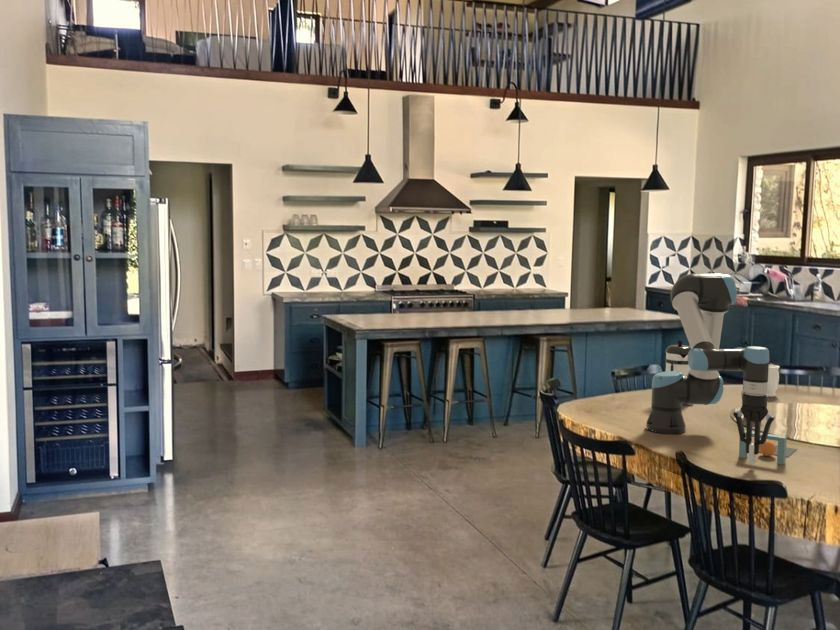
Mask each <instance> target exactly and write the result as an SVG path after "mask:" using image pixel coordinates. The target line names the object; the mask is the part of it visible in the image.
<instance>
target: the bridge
mask: <svg viewBox="0 0 840 630" xmlns="http://www.w3.org/2000/svg"><path fill="white" fill-rule="evenodd" d="M744 431H745V436H746V430H745V429H744ZM754 433H755V431H752V438H754ZM762 434H763V432H760V439H761V437H762ZM787 439H788V437H787V436H786V435H785V436H784V435H780V434H779V435H778V434H771V433H768V436H767V439H766V440H768V441H777V446H778V454H777V455H776V456H777V458H776V459H777V460H776V464H777V465H782V466H784V465H785V464H786V462H787V461H786V459H787V457H786V447H787V441H788V440H787ZM738 443H739V448H738V458H740V459H746V458H747V457H748V453H746V443H745V442H743V441H741V440H740V439H739V442H738Z"/></svg>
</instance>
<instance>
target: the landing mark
mask: <svg viewBox="0 0 840 630" xmlns="http://www.w3.org/2000/svg"><path fill="white" fill-rule="evenodd" d="M775 446H776V452H775V453H774V454H773V455H772V456H777V454H778V445H775ZM797 450H798V449H797V448H792V447H788V446H786V458H790V457H791V455H793V454H794V453H795V452H796V451H797ZM759 453H760V454H761V452H760V450H759ZM759 453H758V454H759Z"/></svg>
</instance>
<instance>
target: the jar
mask: <svg viewBox="0 0 840 630" xmlns="http://www.w3.org/2000/svg"><path fill="white" fill-rule="evenodd" d="M780 368H781V367H780V365H777V364H770V363H769V370H768V393H767V394H766V395H767V398H769V397H770V398H773V397H776V396H777V394H776V391H777V390H778V386H779V381H780V372H779V369H780Z"/></svg>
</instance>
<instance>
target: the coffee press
mask: <svg viewBox="0 0 840 630" xmlns="http://www.w3.org/2000/svg"><path fill="white" fill-rule="evenodd" d="M690 350H691V347H690V345H685V344H683V340H682V339H679V340H677V344H671V345H668V347H666V349H665V354H666V355H665V360H664V361H665V371H680V372H682V373H683V375H688V372H689V369H690V367H689V364H688V353H689V351H690ZM688 405H689V406H690V405H691V406H694V404H688Z"/></svg>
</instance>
